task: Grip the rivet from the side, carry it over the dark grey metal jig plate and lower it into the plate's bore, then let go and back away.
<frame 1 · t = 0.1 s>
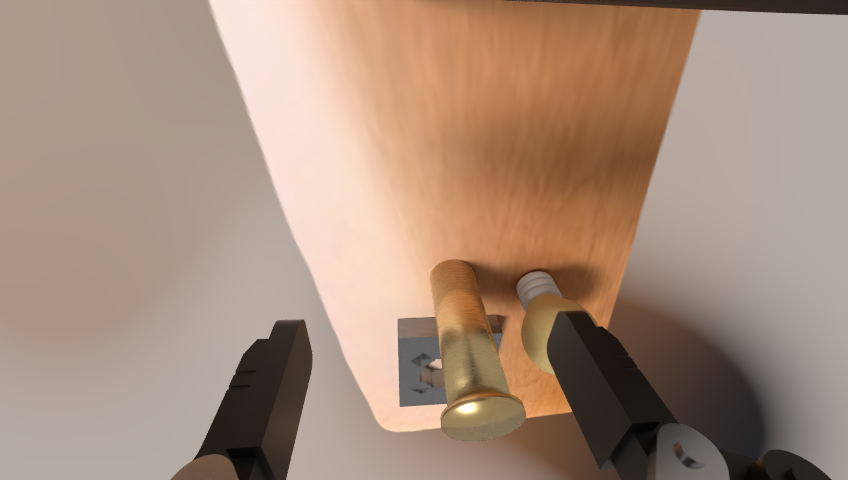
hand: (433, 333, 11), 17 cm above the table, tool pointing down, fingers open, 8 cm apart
light bulb: (531, 279, 34), on the table
rivet: (451, 276, 33), on the table
jig: (443, 354, 41), on the table
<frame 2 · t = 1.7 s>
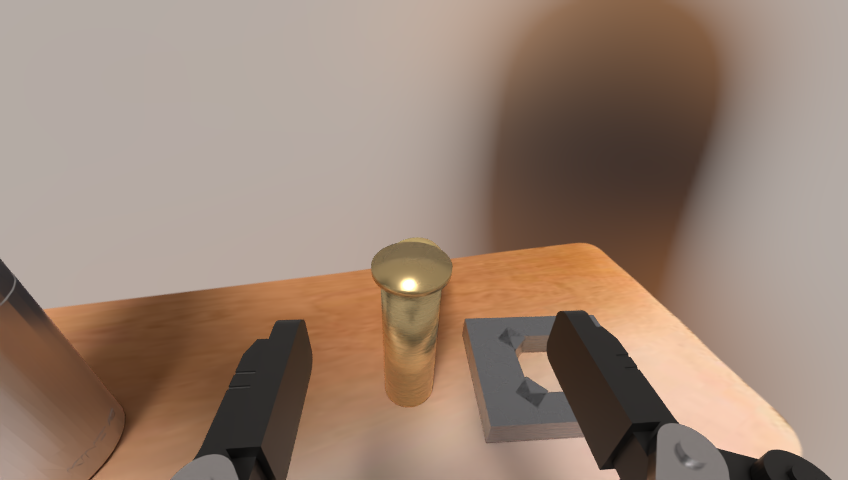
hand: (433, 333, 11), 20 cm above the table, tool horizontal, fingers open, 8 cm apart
rivet: (408, 384, 31), on the table
jig: (544, 377, 32), on the table
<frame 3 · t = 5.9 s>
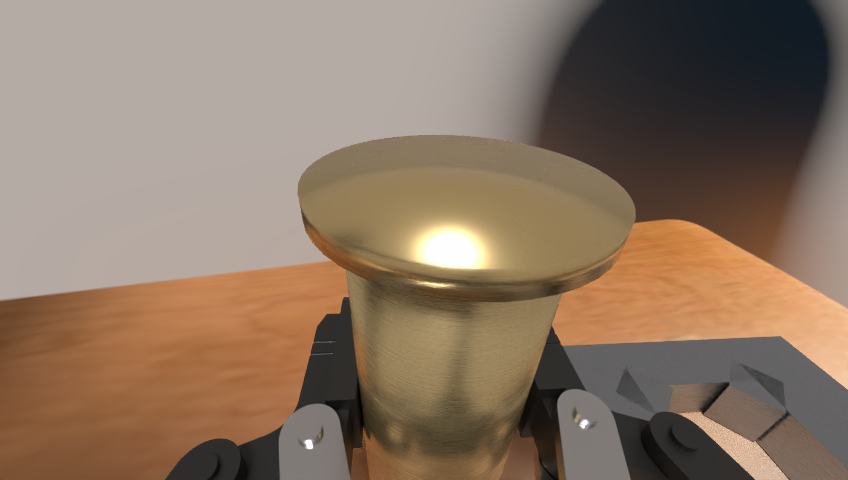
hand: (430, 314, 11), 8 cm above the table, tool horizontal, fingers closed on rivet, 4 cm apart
when the fingers open (9 cm above the table, at t = 9.9 s): rivet stays where it is, resting in jig.
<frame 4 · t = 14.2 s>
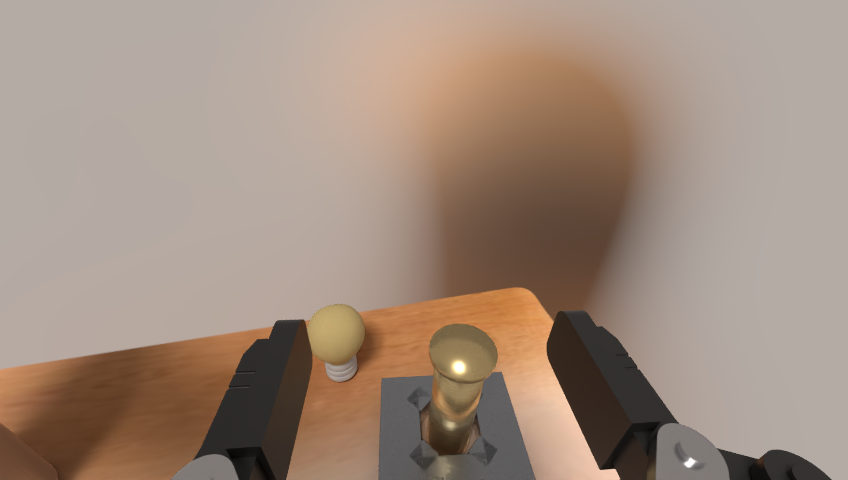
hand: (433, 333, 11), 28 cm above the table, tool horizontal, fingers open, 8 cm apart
light bulb: (342, 372, 41), on the table
rivet: (447, 436, 35), resting in jig
jig: (447, 435, 35), on the table
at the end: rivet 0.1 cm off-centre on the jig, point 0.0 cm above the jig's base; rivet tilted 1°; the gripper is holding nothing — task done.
